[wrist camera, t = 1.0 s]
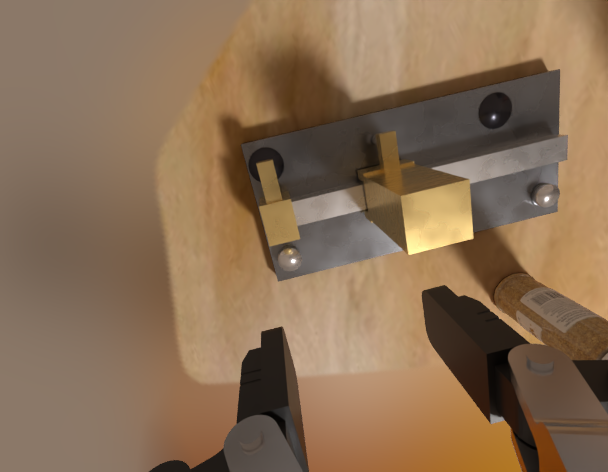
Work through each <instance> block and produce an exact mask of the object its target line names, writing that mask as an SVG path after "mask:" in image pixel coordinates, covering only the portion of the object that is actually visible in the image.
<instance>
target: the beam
mask: <svg viewBox="0 0 608 472" xmlns="http://www.w3.org/2000/svg"><path fill="white" fill-rule="evenodd" d="M567 147H568V135H555V134H553V135H549V136H545V137H541V138H536V139H532V140H528V141H524V142H520V143H516V144H512V145H508V146H503V147H499V148H495V149H491V150H487V151H483V152H479V153H475V154H470V155H466V156H462V157H458V158H454V159H450V160H446V161H442V162H437V163H433V164H429V165H425V166H424V167H427V168H431V169H434V170H438V171H442V172H445V173H449V174H452V175H456V176H460V177H463V178H467V179H470V184H471V183H475V182H479V181H483V180H487V179H491V178H495V177H499V176H503V175H507V174H511V173H516V172H520V171H524V170H528V169H532V168H536V167H540V166H544V165H548V164H552V163H556V162H560V161H564V160H567ZM256 165H257V169H258V172H259V176H260V180H261V184H262V188H263V191H264V195H265V197H262V198H259V209H260V213H261V216H262V220H263V224H264V227H265V231H266V235H267V239H268V242H269V246H274V245H278V244H282V243H286V242H290V241H294V240H298V239H300V236H299V231H298V227H297V226H300V225H304V224H308V223H312V222H316V221H320V220H324V219H328V218H332V217H336V216H340V215H344V214H348V213H353V212H357V211H361V210H365V209H368V207H367V201H366V195H365V189H364V183H363V181H359V182H355V183H351V184H347V185H343V186H339V187H334V188H330V189H326V190H322V191H318V192H314V193H310V194H306V195H301V196H297V197H293V198H290V195H289V192H288V191H287V192H283V193H281V191H280V187H279V183H278V179H277V175H276V171H275V167H274V163H273V159H268V160H264V161H260V162H256Z"/></svg>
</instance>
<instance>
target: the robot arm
mask: <svg viewBox="0 0 608 472" xmlns="http://www.w3.org/2000/svg"><path fill="white" fill-rule="evenodd" d="M422 302H423V309H424V317H425V325H426V331H427V335H428V338H429V340H430V343H431V345H432V346H433V348H434V349H435V350H436V352H437V353H438V354H439V356H440V357H441V358H442V360H443V361H444V362H445V364H446V365H447V366H448V367H449V369H450V370H451V372H452V373H453V374H454V376H455V377H456V378H457V380H458V381H459V382H460V383H461V385H462V386H463V388H464V389H465V390H466V391H467V393H468V394H469V395H470V397H471V398H472V399H473V401H474V402H475V403H476V405H477V406H478V407H479V409H480V410H481V412H482V413H483V414H484V416H485V417H486V418H487V419H488V421H489V422H490V423H491V424H492V423H496V422H500V421H503V420H505V421H506V422H507V423H508V424H509V426H510V427H511V439H512V443H513V446H514V449H515V452H516V455H517V458H518V461H519V464H520V467H521V470H522V472H608V360H571V359H570V358H569V357H568V356H567V355H566V354H564V353H563V352H561V351H559V350H558V349H555V348H553V347H550V346H546V345H541V344H530V343H529V342H528V341H527V340H525V339H524V338H523V337H522V336H521V335H519V334H518V333H517V332H516V331H515V330H513V329H512V328H511V327H510V326H509V325H507V324H506V323H505V322H504V321H503V320H501V319H499V318H498V316H497V315H495V314H494V313H493V312H490V310H489V309H488V308H487V307H486V306H485V305H483V304H482V303H481V302H480V301H478V300H475V299H473V298H470V297H468V296H465V295H464V296H460V297H458V296H457V295H456V294H454V293H453V292H452V291H451V290H450V289H449V288H448V287H447V286H445V285H443V286H439V287H435V288H431V289H427V290H424V291H423V292H422ZM149 472H309V468H308V461H307V453H306V446H305V437H304V430H303V422H302V415H301V406H300V399H299V391H298V383H297V377H296V372H295V368H294V364H293V360H292V357H291V353H290V350H289V346H288V342H287V339H286V335H285V332H284V329H283V327H278V328H274V329H270V330H266V331H262V332H261V348H257V349H253V350H249V352H248V353H247V355H246V357H245V358H244V360H243V362H242V369H241V380H240V391H239V402H238V413H237V424H236V425H235V426H234V427H233V428H232V429H231V431H230V432H229V434H228V435H227V437H226V439H225V442H224V448H223V449H222V450H221V451H220V452H219V453H217V454H216V455H215V456H213V457H211V458H210V459H208V460H206V461H205V462H203V463H201V464H199V465H198V466H196V467H194V468H192V469H191V470H190V468H189V466H188V465H187V464H186V463H184V462H183V461H179V460H174V461H168V462H165V463H162V464H160V465H158V466H157V467H155V468H153V469H152V470H151V471H149Z"/></svg>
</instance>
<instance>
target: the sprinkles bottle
mask: <svg viewBox="0 0 608 472" xmlns="http://www.w3.org/2000/svg"><path fill="white" fill-rule="evenodd" d="M494 299H495V304H496V306H497V308H498V309H499V310H500V311H502V312H503V313H506V314H507V315H509V316H510V317H511V318H513V319H514V320H515V321H517V322H518V323H519V324H520V325H521V326H522V327H523V328H524V329H526V330H527V331H528V332H530V333H531V334H532V335H534V336H535V337H536V338H538V339H539V340H540V341H542V342H543V343H544V344H545V345H547V346H550V347H553V348H555V349H558V350H559V351H561V352H563V353H564V354H566V355H567V356H568V357H569V358H570V359H571V360H608V321H607V320H606V319H604V318H602V317H601V316H599V315H597V314H595V313H594V312H592V311H590V310H588V309H587V308H585V307H583V306H581V305H580V304H578V303H576V302H574V301H573V300H571V299H569V298H567V297H566V296H564V295H562V294H560V293H559V292H557V291H555V290H553V289H551V288H548V287H546V286H545V285H543V284H541V283H539V282H537V281H536V280H535V279H534V278H533V277H531V276H530V275H528V274H525V273H516V274H512V275H510V276H508V277H506V278H505V279H503V280H502V281H501V282H500V283H499V285H498V286H497V288H496V289H495V294H494Z"/></svg>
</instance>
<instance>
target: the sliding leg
mask: <svg viewBox="0 0 608 472" xmlns="http://www.w3.org/2000/svg"><path fill="white" fill-rule="evenodd" d="M372 142H373V143H374V144H375V145H377V150H378V157H379V164H380V165H378V166H374V167H370V168H366V169H361V170H357V172H358V178H359V179H360V180H361V181H363V183H364V189H365V195H366V201H367V207H368V209H365V210H364V213H365V217H366V218H367V219H368V220H369V221H370V222H371V223H374V224H375V225H376V226H377V227H379V228H380V229H381V230H382V231H383V232H384V233H385V234H386V235H387V236H388V237H389V238H391V239H392V240H393V241H394V242H395V243H396V244H397V245H398V246H399V247H400V248H401V249H403V250H404V251H405V252H406V253H407V254H408V255H410V254H414V253H418V252H422V251H426V250H430V249H434V248H438V247H442V246H446V245H450V244H454V243H458V242H462V241H466V240H470V239H473V224H472V209H471V194H470V179H467V178H463V177H460V176H456V175H452V174H449V173H445V172H442V171H438V170H434V169H431V168H427V167H424V166H420V165H416V164H414V161H411V160H407V159H403V160H399V154H398V146H397V138H396V131H387V132H383V133H379V134H375V135H374V136H373V138H372Z"/></svg>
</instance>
